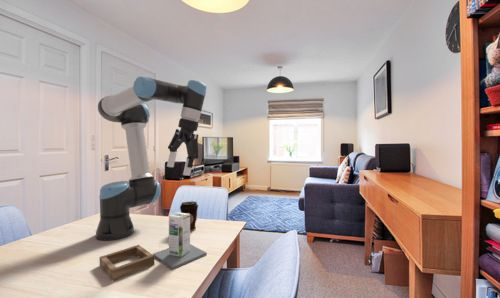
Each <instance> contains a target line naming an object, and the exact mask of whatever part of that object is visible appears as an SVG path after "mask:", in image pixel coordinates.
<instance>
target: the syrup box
mask: <svg viewBox="0 0 500 298" xmlns="http://www.w3.org/2000/svg"><path fill="white" fill-rule="evenodd" d="M190 244H191V231H190V214H187V213H181V211H177V212H174V213H172V214H169V215H168V248H169V255H174V256H179V257H182V256H183V255H185V254H186V253H187V252H189V251H190Z"/></svg>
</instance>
